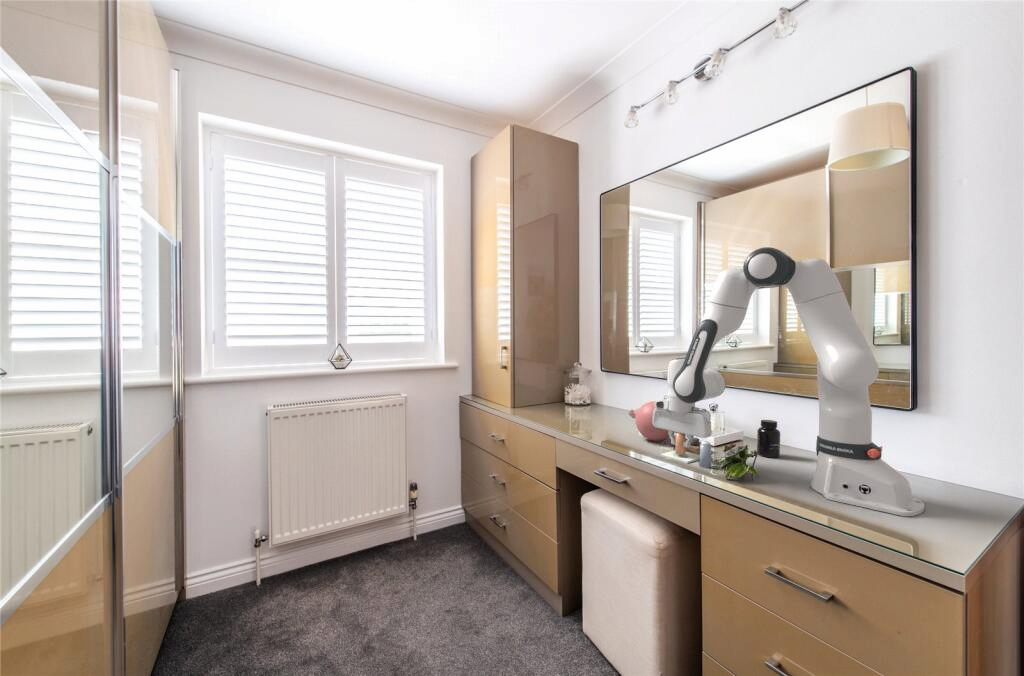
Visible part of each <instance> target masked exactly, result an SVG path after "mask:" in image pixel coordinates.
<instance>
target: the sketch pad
mask: <svg viewBox="0 0 1024 676" xmlns="http://www.w3.org/2000/svg"><path fill="white" fill-rule="evenodd" d="M660 457H663V458H667V459H670V460H674V461H677V462H680V463H684V464H690V463H693V462H696V461H700V455H697V454H693V453H689V452H686V454H684V455H681V454H676V453H675V449H674V450H671V451H668V452H663V453H661V454H660Z"/></svg>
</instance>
